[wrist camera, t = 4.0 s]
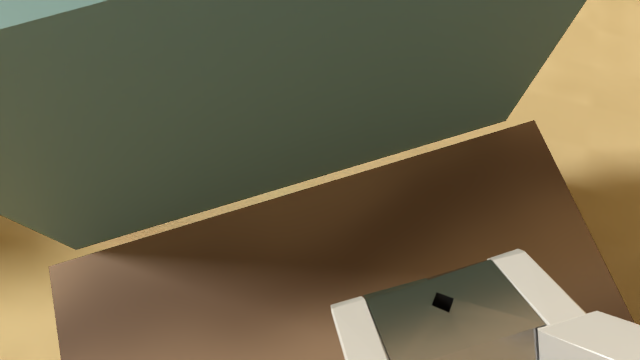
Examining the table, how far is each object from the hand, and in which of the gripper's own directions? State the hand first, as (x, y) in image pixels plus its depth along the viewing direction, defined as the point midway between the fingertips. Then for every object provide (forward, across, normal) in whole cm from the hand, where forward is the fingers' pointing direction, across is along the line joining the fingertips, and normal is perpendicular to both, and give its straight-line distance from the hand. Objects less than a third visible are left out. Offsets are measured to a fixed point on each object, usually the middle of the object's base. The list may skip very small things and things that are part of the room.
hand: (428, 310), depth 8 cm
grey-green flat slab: (+12, +1, +2) cm, 12 cm away
